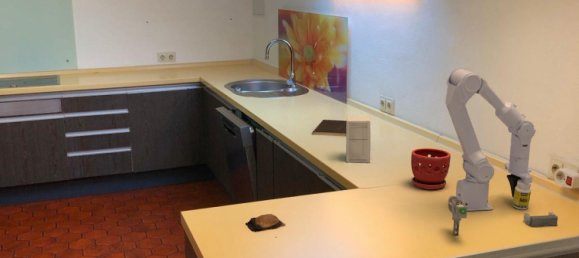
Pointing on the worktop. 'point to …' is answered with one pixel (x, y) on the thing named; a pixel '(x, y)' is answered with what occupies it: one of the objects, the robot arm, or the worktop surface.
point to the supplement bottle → (522, 195)
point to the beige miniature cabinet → (358, 139)
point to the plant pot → (430, 167)
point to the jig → (541, 220)
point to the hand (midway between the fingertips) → (515, 197)
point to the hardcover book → (331, 128)
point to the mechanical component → (457, 212)
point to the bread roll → (264, 223)
